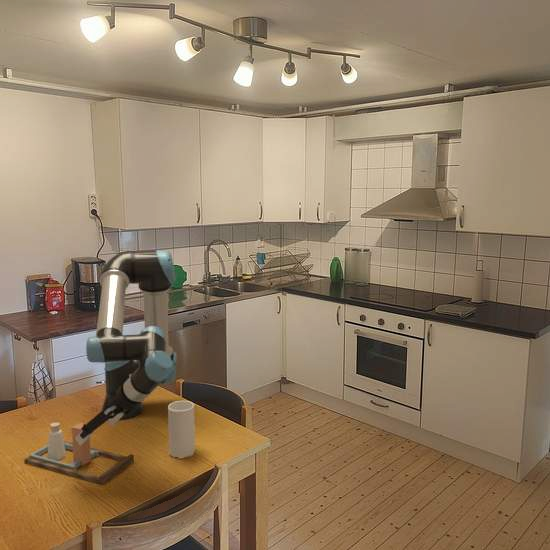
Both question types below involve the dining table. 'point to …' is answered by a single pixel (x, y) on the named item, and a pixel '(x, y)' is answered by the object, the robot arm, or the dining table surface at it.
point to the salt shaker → (56, 443)
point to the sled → (79, 451)
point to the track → (102, 479)
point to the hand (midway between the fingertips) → (94, 431)
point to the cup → (181, 428)
